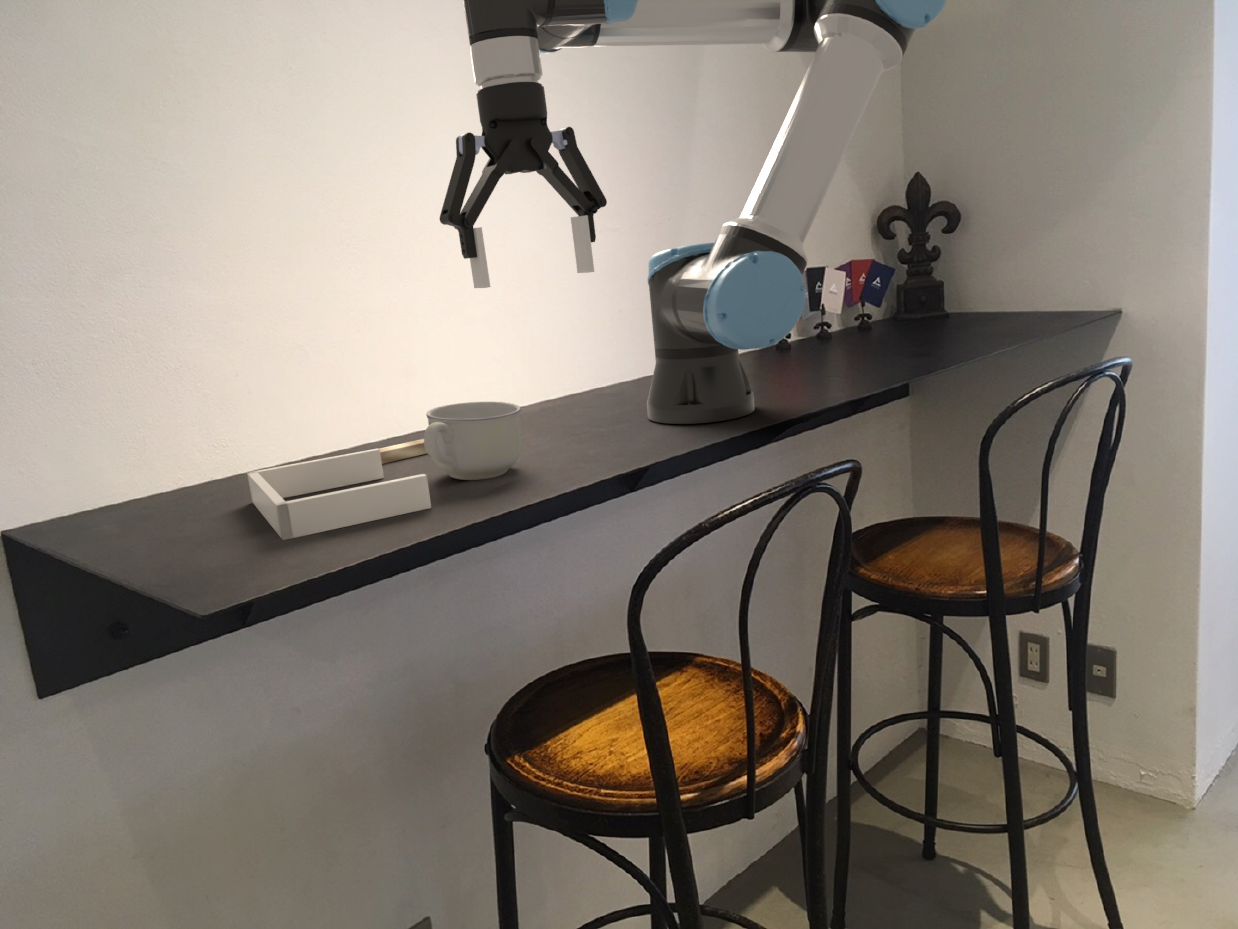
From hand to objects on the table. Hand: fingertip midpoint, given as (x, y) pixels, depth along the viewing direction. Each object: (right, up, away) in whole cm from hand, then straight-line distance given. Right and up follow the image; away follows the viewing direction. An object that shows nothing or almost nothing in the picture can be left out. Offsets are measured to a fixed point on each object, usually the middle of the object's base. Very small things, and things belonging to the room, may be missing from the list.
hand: (535, 280), depth 112 cm
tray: (-21, -26, -6) cm, 34 cm away
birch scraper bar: (-19, -20, +15) cm, 32 cm away
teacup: (-7, -23, +1) cm, 24 cm away
